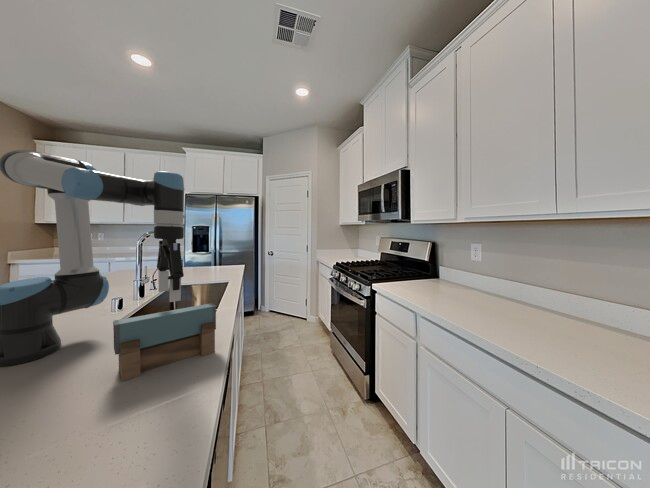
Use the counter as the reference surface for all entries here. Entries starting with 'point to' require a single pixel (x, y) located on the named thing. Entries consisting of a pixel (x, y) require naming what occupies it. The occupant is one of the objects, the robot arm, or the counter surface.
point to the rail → (163, 326)
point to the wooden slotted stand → (164, 352)
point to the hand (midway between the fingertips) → (169, 295)
